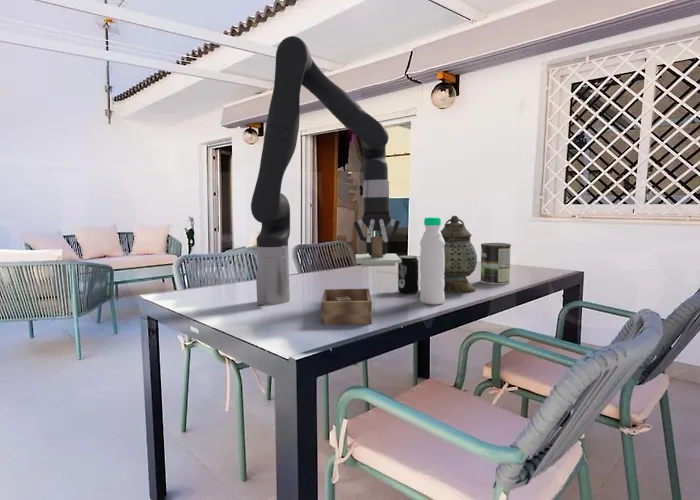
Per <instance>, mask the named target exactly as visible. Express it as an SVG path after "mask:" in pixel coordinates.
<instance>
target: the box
mask: <svg viewBox="0 0 700 500" xmlns="http://www.w3.org/2000/svg"><path fill="white" fill-rule="evenodd" d="M370 293H371V292H370V289H369V288H329V289H324V291H323V294H322V297H321V298H322V299H321V300H320V315H321V316H320V318H321V319H320V321H321V323H320V324H321V325H322V326H327V325H328V326H329V325H331V326H332V325H372V324H373V322H372V321H373V314H372V313H373V312H372V311H373V308H372V307H373V306H372V305H373V304H372V297H371V294H370ZM347 296H348V297H349V298H351V301H335V297H347Z"/></svg>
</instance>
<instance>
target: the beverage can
mask: <svg viewBox="0 0 700 500" xmlns="http://www.w3.org/2000/svg"><path fill="white" fill-rule="evenodd" d="M398 257H399V258H400V259H401V260H402V263H397V269H398V270H397V271H398V272H397V276H398V277H397V278H398V279H397V282H398V283H397V284H398V285H397V290H398V292H399V293H400V294H403V295H416V294H417V293H418V292H419V259H418V256H417V255H411V254H410V255H398Z"/></svg>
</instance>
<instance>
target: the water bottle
mask: <svg viewBox="0 0 700 500" xmlns="http://www.w3.org/2000/svg"><path fill="white" fill-rule="evenodd" d="M441 223H442V220H441V218H440V217H439V216H438V217H433V216H431V217H424V220H423V224H424V227H425V230H424V232H423V233H422V234H423V235H422V237H421V238H420V241H419V245H420V258H419V259H420V261H419V266H420V270H419V273H420V282H419V286H420V293H419V300H420V302H422V304H424V305H431V306H437V305H438V306H439V305H441V304H443V303H444V302H445V293H444V286H445V282H444V277H445V276H444V270H445V253H444V246H445V241H444V239H443V237H442V234H441V232H440V231H441V230H440V228H441Z"/></svg>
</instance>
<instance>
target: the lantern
mask: <svg viewBox="0 0 700 500" xmlns="http://www.w3.org/2000/svg"><path fill="white" fill-rule="evenodd" d="M449 222H450V223H449ZM459 222H460V223H459ZM440 232H441V234H442V237H443V239H444V241H445V246H444V253H445V270H444V282H445V286H444V294H456V295H461V294H473V293H474V292H476V290H477V289H476V287H474V286H473V285H472V284H471V283H470V281H468V279H467V277H470V276H471V275H472V274H473V273H474V271H475V270H476V266H477V263H478V254H477V252H476V249H475V246H474V245H473V244H472V242H471V237H472V234H471V232H470V231H469V230H468V229H467V228H466V226H465V222H464V221H463V220H462V219H460V218H459V216H457V215H453V216H451V217H450V218H449V219H447V221H446V222H445V224H444V227H443V228H442V229H441V230H440Z"/></svg>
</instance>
